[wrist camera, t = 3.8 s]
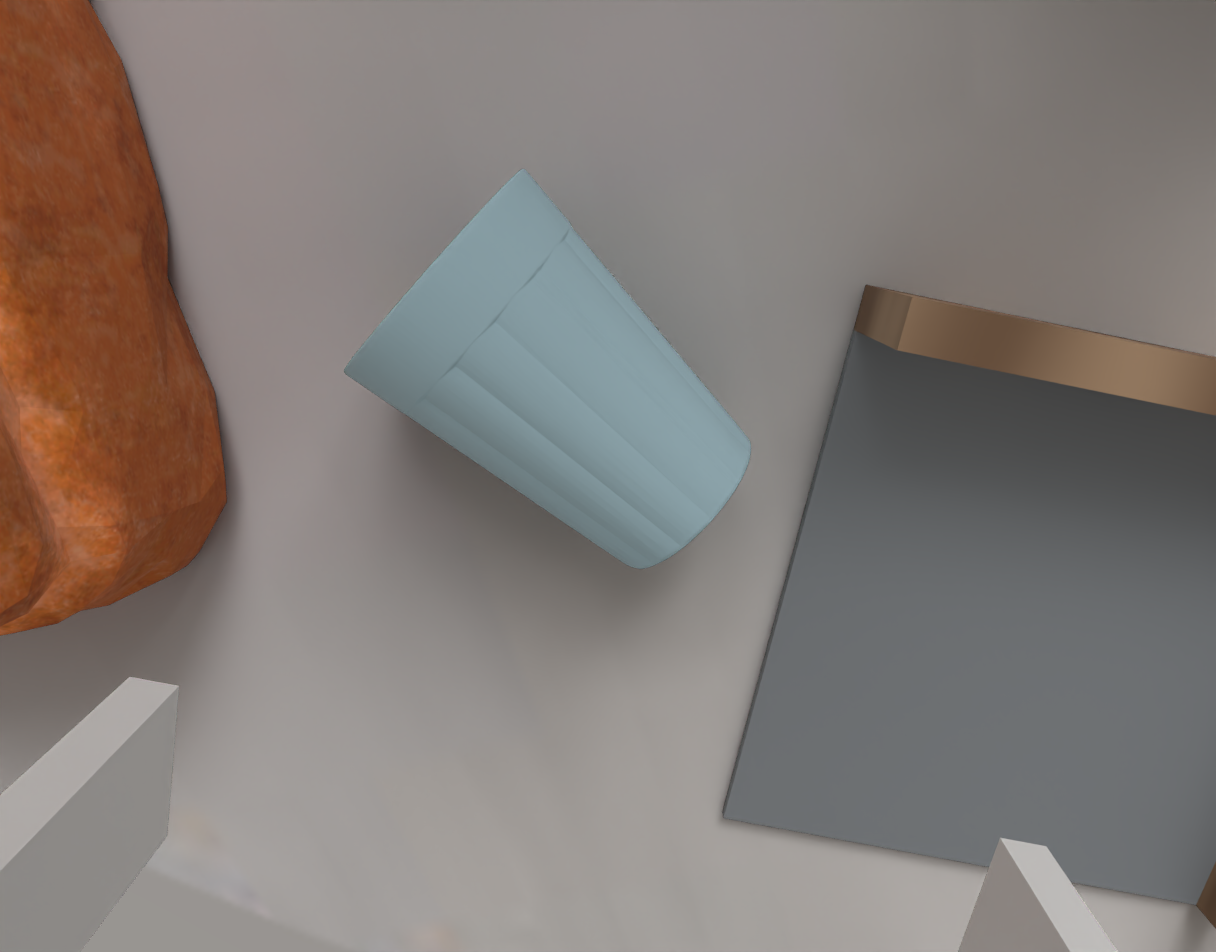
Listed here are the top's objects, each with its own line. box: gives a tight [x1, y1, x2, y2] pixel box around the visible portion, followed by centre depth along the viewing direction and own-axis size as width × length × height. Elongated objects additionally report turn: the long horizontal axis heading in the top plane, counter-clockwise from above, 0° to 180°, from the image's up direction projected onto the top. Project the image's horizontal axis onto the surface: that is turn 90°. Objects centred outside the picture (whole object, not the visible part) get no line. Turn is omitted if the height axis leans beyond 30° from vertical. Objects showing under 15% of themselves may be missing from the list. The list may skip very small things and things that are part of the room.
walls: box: [854, 285, 1216, 928], centre depth 30 cm, size 20×20×5 cm
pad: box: [723, 330, 1216, 905], centre depth 33 cm, size 19×19×1 cm
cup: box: [344, 169, 751, 569], centre depth 27 cm, size 8×8×10 cm
